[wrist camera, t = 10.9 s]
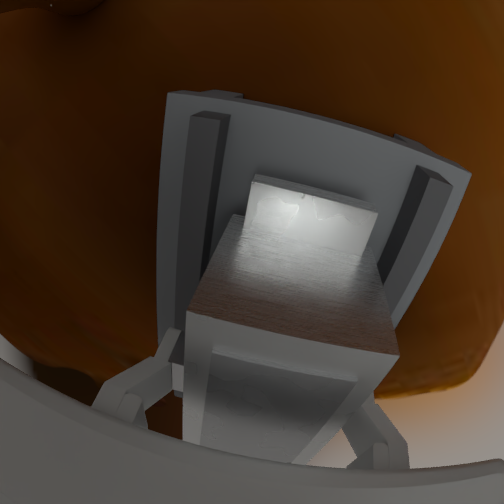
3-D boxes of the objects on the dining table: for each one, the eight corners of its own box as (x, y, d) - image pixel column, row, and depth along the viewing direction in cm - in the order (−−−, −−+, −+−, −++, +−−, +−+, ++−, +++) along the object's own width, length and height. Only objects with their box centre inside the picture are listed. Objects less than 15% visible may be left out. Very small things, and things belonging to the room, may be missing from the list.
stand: (186, 316, 25) (152, 392, 18) (211, 85, 15) (149, 96, 9) (333, 350, 24) (333, 432, 18) (423, 140, 15) (489, 187, 9)
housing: (240, 170, 10) (188, 253, 6) (386, 207, 10) (435, 310, 6) (205, 393, 17) (182, 470, 13) (289, 412, 17) (279, 490, 13)
